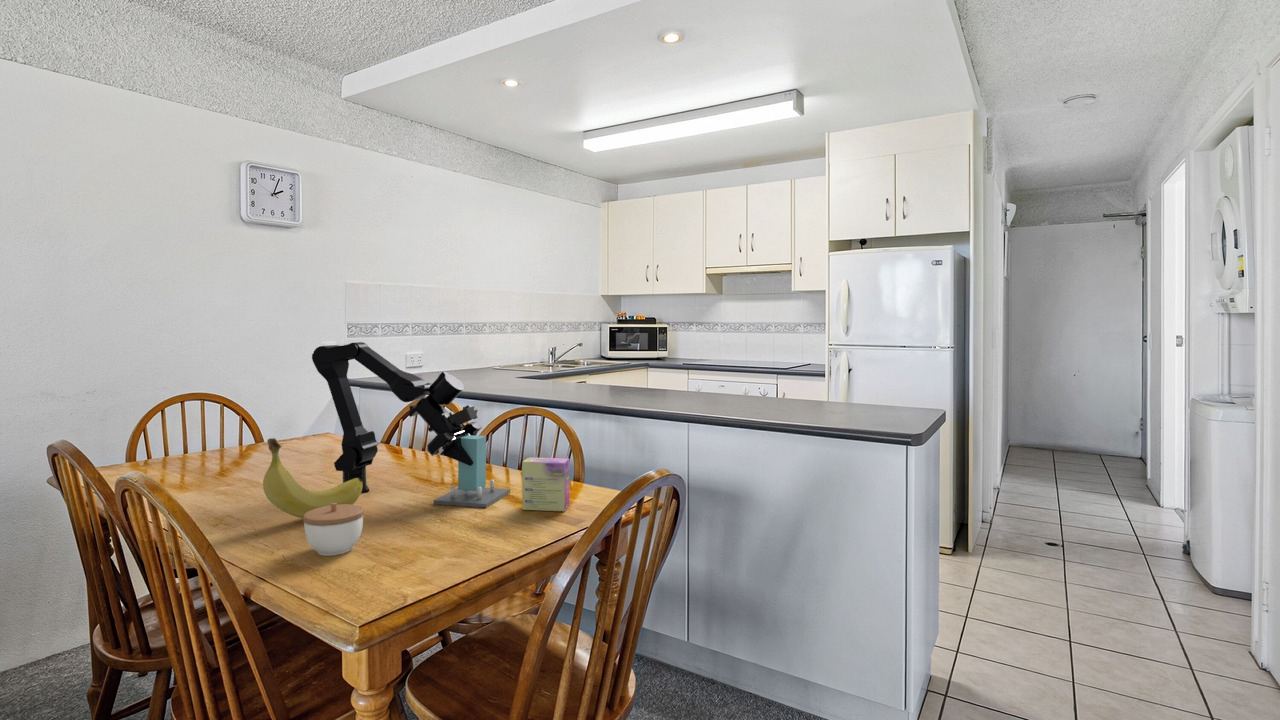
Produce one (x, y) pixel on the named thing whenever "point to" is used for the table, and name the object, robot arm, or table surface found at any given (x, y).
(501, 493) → the base plate
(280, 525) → the table surface
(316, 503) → the banana
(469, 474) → the teal block
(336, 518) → the lidded jar
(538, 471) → the box
